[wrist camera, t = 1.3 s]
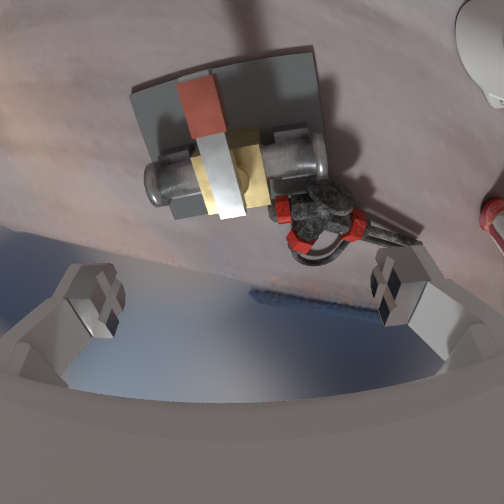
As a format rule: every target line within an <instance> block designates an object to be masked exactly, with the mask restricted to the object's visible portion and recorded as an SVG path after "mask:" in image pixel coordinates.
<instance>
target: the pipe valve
mask: <svg viewBox="0 0 504 504" xmlns="http://www.w3.org/2000/svg"><path fill="white" fill-rule="evenodd" d="M228 133H229V137H230V141H231V145H232V149H233V153H234V157H235V161H236V165H237V169H238V173H239V177H240V180H241V182H242V188H243V192H244V196H245V200H246V204H247V208H252V207H258V206H265V205H271V187H270V179H277V178H282V179H289V178H296V177H303V176H311V175H315V178H316V180H321V179H328V160H327V153H326V147H325V143H324V139H323V136H322V133H321V131H320V130H315V131H309V127H308V125H307V123H306V122H304V123H297V124H289V125H283V126H276V127H273V133H274V138H275V143H273V144H267V145H264V144H263V140H262V135H261V130H260V125H258V126H252V127H247V128H242V129H237V130H232V131H228ZM144 185H145V190H146V193H147V196H148V198H149V200H150V202H151V203H152V204H153V205H154V206H155V207H162V206H167V205H169V204H170V203H171V201H172V198H173V199H176V198H181V197H186V196H191V195H196V194H201V193H202V196H203V199H204V202H205V205H206V208H207V210H208V213H209V215H210V214H215V213H219V212H218V209H217V206H216V203H215V200H214V196H213V193H212V190H211V187H210V184H209V180H208V177H207V174H206V171H205V167H204V164H203V161H202V158H201V154H200V151H199V148H198V145H197V147H196V149H195V151H194V147H193V144H192V143H191V144H187V145H183V146H179V147H175V148H171V149H167V150H164V151H162V153H161V154H160V155H159V156H158V161H156V162H152V163H149V164H148V165H147V166H146V168H145V171H144Z"/></svg>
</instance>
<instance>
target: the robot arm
mask: <svg viewBox="0 0 504 504" xmlns="http://www.w3.org/2000/svg"><path fill="white" fill-rule="evenodd" d="M455 32H456V43H457V48H458V52H459V55H460V58H461V60H462V62H463V65H464V67H465V68H466V70H467V72H468V73H469V75H470V76H471V78H472V79H473V80H474V81H475V82H476V83H477V84H478V85H479V86H480V87H481V88H482V90H483V91H484V94H485V96H486V98H487V101H488V102H489V104H490V105H491V106H492V107H495V108H503V107H504V0H471V1H469V2H467V3H466V4H465V5H464V6H463V7H462V8H461V10H460V12H459V14H458V17H457V21H456V31H455ZM375 259H376V261H377V264H378V265H377V266H376V267H375V268H374V269H373V270H372V274H371V291H372V295H373V298H374V299H375V300H376V301H377V302H379V303H380V306H379V309H378V311H379V313H380V316H381V319H382V321H383V324H384V326H393V325H401V324H408V325H409V326H410V327H411V328H412V329H413V330H414V331H415V332H416V333H417V334H418V335H419V336H420V337H421V338H422V339H423V340H424V341H425V342H426V343H427V344H428V345H429V346H430V347H431V348H432V349H433V350H434V351H435V352H436V353H437V354H438V355H439V356H440V357H441V358H442V359H443V360H444V361H445V362H444V364H443V365H442V366H441V367H440V369H439V370H438V371H437V373H436V376H432V377H428V378H424V379H421V380H417V381H412V382H408V383H404V384H400V385H395V386H391V387H385V388H380V389H375V390H369V391H364V392H357V393H351V394H345V395H338V396H331V397H322V398H313V399H303V400H292V401H278V402H261V403H187V402H169V401H154V400H144V399H134V398H126V397H118V396H111V395H104V394H97V393H91V392H85V391H80V390H74V389H70V388H69V386H68V384H66V382H65V381H63V380H62V379H61V378H60V376H61V375H62V373H63V372H64V371H65V370H66V369H67V367H68V366H69V365H70V364H71V363H72V362H73V360H74V359H75V358H76V357H77V356H78V355H79V353H80V352H81V351H82V350H83V349H84V348H85V347H86V345H87V344H88V343H89V342H90V341H91V340H92V337H94V338H114V336H115V333H116V330H117V327H118V324H119V320H118V318H117V316H118V315H119V314H120V313H121V312H122V311H123V309H124V306H125V291H124V287H123V285H122V283H121V282H120V281H119V280H117V279H116V278H115V277H116V274H117V272H116V270H115V268H114V266H113V264H110V263H85V264H72V265H71V266H69V268H68V270H67V271H66V273H65V275H64V276H63V278H62V280H61V282H60V284H59V285H58V287H57V289H56V290H55V293H54V294H53V296H52V298H51V299H47V300H45V301H44V302H43V303H42V304H40V305H39V306H38V307H37V308H35V309H34V310H33V311H32V312H31V313H29V314H28V315H27V316H26V317H25V318H23V319H22V320H21V321H20V322H19V323H17V325H15V326H14V327H13V328H12V329H11V330H9V331H8V332H7V333H6V334H5V335H4V336H3V337H2V338H1V340H0V504H504V317H503V315H501V314H500V313H498V312H497V311H496V310H494V309H493V308H491V307H490V306H489V305H487V304H486V303H484V302H483V301H482V300H480V299H479V298H477V297H476V296H474V295H473V294H471V293H470V292H468V291H467V290H465V289H464V288H463V287H461V286H460V285H458V284H457V283H455V282H453V281H452V280H450V279H445V278H444V276H443V274H442V273H441V271H440V270H439V268H438V266H437V265H436V263H435V262H434V260H433V259H432V257H431V256H430V254H429V253H428V251H427V250H426V248H425V247H424V246H422V245H413V246H407V247H391V248H379V250H378V251H377V254H376V258H375Z"/></svg>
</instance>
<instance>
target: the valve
mask: <svg viewBox="0 0 504 504" xmlns="http://www.w3.org/2000/svg"><path fill="white" fill-rule="evenodd" d="M307 191H308V193H303V194H295V195H291V198H289V197H288V194H286V195H279V196H275V199H271V205H268V212H269V217H270V219H271V220H272V221H274V222H278V223H279V224H286V223H292V219H294V221H298V220H299V221H298V222H297V224H296V225H295V226H294V227H293V228H292V229H291V231H290V232H289V234H288V235H287V237H286V240H287V241H288V247H289V249H290V250H291V251H292V255H293V257H294V259H295V260H296V261H298V262H299V263H301V264H303V265H307V266H320V265H324V264H327V263H330V262H332V261H333V260H335V259H336V258H337V257H338V256H339V255H340V254H341V252H342V251H343V250H344V249H345V248H346V247H347V245H348V244H349V243H350V242H354V241H356V240H362V241H366V242H370V243H373V244H377V245H380V246H384V247H388V248H391V247H406V246H403V245H400V244H404V245H407V246H413V245H422V246H423V243H422V242H421V241H418V240H415V239H412V238H409V237H406V236H403V235H400V234H397V233H394V232H390V231H387V230H384V229H381V228H378V227H375V226H371V222H370V220H369V219H368V218H367V217H366V216H364V214H363V211H361V210H358V209H355V208H354V207H355V199H354V197H353V195H352V193H351V192H350V190H349V189H348V188H347V187H346V186H345V185H344V184H342V183H341V182H340V181H338V180H336V179H335V178H333V177H330V176H328V179H321V180H316V178H315V175H314V176H312V177H311V178H310V180H309V181H308V183H307ZM324 230H326V231H330V232H334V233H337V234H339V235H340V238H341V239H343V241H342V243H341V244H340V245H339V246H338V247H337V249H336V250H335V251H334V252H333V253H332V254H331V255H329V256H328V257H325V258H322V259H318V260H310V259H305V258H303V257H301V256H300V255H299V254H302V253H305V254H306V253H307V252H308V251H309V250H310V248H311V247H312V246H313V244H314V243H315V242H316V240H317V239H318V236H319V235H320V234H321V233H322V232H323V231H324ZM369 234H370V235H373V236H377V237H380V238H384V239H387V240H390V241H394V242H397V243H400V244H396V243H393V242H390V241H386V240H383V239H379V238H376V237H372V236H369Z"/></svg>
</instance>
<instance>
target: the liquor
mask: <svg viewBox="0 0 504 504" xmlns="http://www.w3.org/2000/svg"><path fill="white" fill-rule="evenodd" d="M479 223H480V226H481V228H482V229H483V230H485V231H487V232H488V233H489V234H490V236H491V237H492V239H493V240H494V241H495V243H496V244H497V246H498V247H499V249H500V250H501V252H502V253H503V255H504V199H503V198H499V197H498V198H494V199H492V200H490V201H488V202H487V203H486V204H485V205H484V206H483V208H482V211H481V215H480V220H479Z"/></svg>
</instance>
